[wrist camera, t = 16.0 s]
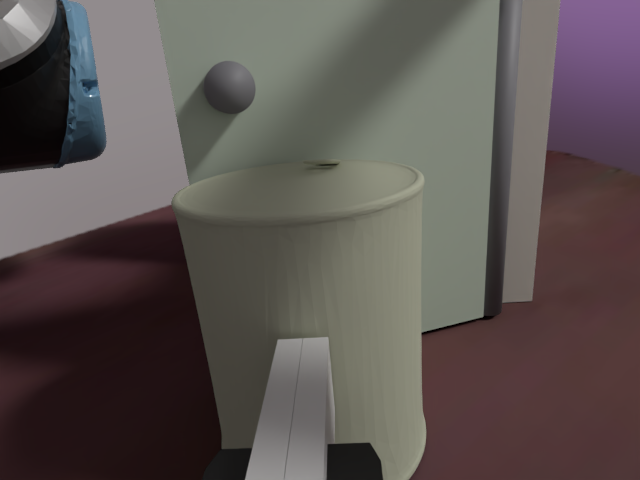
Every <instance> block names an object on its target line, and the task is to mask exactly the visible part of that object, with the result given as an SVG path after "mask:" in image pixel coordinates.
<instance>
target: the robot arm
mask: <svg viewBox="0 0 640 480" xmlns="http://www.w3.org/2000/svg"><path fill="white" fill-rule="evenodd" d="M105 147H106V132H105V125H104V118H103V112H102V105H101V100H100V93H99V88H98V80H97V74H96V66H95V60H94V53H93V47H92V41H91V35H90V29H89V23H88V17H87V12H86V10H85V8H84V7H83V6H82V5H81V4H79V3H77V2H71V1H68V0H0V173H8V172H17V171H26V170H34V169H43V168H52V167H53V168H60V167H63V166H64V165H65V164H70V163H76V162H82V161H87V160H92V159H95V158H97V157H98V156H100V155H101V154H102V152H103V151H104V149H105ZM202 480H383V474H382V465H381V460H380V458H379V457H378V455H377V453H376V452H375V450H374V448H373V447H372V445H371V443H370V442H369V443H341V444H335V406H334V395H333V384H332V373H331V362H330V351H329V340H328V337H318V338H299V339H280V340H278V341H277V345H276V349H275V354H274V358H273V362H272V366H271V371H270V375H269V379H268V384H267V388H266V392H265V396H264V401H263V405H262V409H261V413H260V418H259V422H258V426H257V431H256V435H255V439H254V443H253V448H238V449H221V450H220V451H219V452H218V453H217V455H216V456H215V457H214V458H213V460H212V461H211V462H210V463H209V465H208V466H207V467H206V469H205V472H204V475H203V478H202Z"/></svg>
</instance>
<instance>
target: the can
mask: <svg viewBox="0 0 640 480" xmlns="http://www.w3.org/2000/svg"><path fill="white" fill-rule="evenodd" d="M424 183H425V181H424V176H423V174H422V173H421V172H420V171H419V170H417V169H415V168H413V167H410V166H407V165H404V164H399V163H394V162H387V161H378V160H360V159H318V160H304V161H301V162H291V163H282V164H274V165H267V166H260V167H254V168H249V169H244V170H239V171H234V172H229V173H225V174H221V175H217V176H214V177H211V178H207V179H204V180H201V181H199V182H196V183H194V184H191V185H189V186H187V187H185V188H183V189H182V190H180V191H179V192H178V193H176V194H175V196H174V197H173V199H172V209H173V211H174V213H175V216H176V219H177V223H178V227H179V231H180V235H181V239H182V243H183V247H184V252H185V256H186V261H187V265H188V270H189V275H190V279H191V284H192V288H193V293H194V297H195V302H196V307H197V311H198V316H199V321H200V326H201V331H202V336H203V340H204V345H205V350H206V355H207V360H208V365H209V369H210V374H211V379H212V384H213V389H214V395H215V400H216V405H217V410H218V415H219V421H220V427H221V433H222V449H238V448H253V443H254V439H255V435H256V431H257V426H258V422H259V418H260V413H261V409H262V405H263V401H264V396H265V392H266V388H267V384H268V379H269V375H270V371H271V366H272V362H273V358H274V354H275V349H276V345H277V341H278V340H280V339H299V338H318V337H328V340H329V351H330V362H331V373H332V384H333V395H334V406H335V444H341V443H369V442H370V443H371V445H372V447H373V448H374V450H375V452H376V453H377V455H378V457H379V458H380V460H381V465H382V474H383V480H409V479H410V477H411V476H412V475H413V473H414V472H415V470H416V468H417V467H418V465H419V462H420V460H421V458H422V455H423V452H424V448H425V442H426V424H425V419H424V415H423V410H422V372H421V249H422V198H423V187H424Z"/></svg>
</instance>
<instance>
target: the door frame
mask: <svg viewBox="0 0 640 480" xmlns="http://www.w3.org/2000/svg"><path fill="white" fill-rule="evenodd" d="M559 9H560V0H523V4H522V19H521V33H520V48H519V63H518V78H517V92H516V107H515V122H514V136H513V151H512V166H511V181H510V195H509V210H508V225H507V239H506V254H505V269H504V284H503V298H502V303H507V302H525V301H532V295H533V284H534V274H535V263H536V253H537V242H538V231H539V221H540V210H541V200H542V189H543V179H544V168H545V157H546V147H547V135H548V126H549V115H550V105H551V94H552V83H553V73H554V61H555V52H556V40H557V30H558V20H559Z"/></svg>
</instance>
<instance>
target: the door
mask: <svg viewBox="0 0 640 480" xmlns="http://www.w3.org/2000/svg"><path fill="white" fill-rule="evenodd" d="M154 2H155V7H156V12H157V18H158V23H159V28H160V34H161V39H162V44H163V49H164V54H165V59H166V64H167V70H168V75H169V80H170V85H171V91H172V96H173V101H174V106H175V112H176V117H177V122H178V127H179V132H180V137H181V143H182V148H183V153H184V158H185V164H186V169H187V174H188V179H189V184H190V185H191V184H194V183H196V182H199V181H201V180H204V179H207V178H211V177H214V176H217V175H221V174H225V173H229V172H234V171H239V170H244V169H249V168H254V167H260V166H267V165H274V164H282V163H291V162H301V161H304V160H318V159H360V160H378V161H387V162H394V163H399V164H404V165H407V166H410V167H413V168H415V169H417V170H419V171H420V172H421V173H422V174H423V176H424V181H425V183H424V187H423V198H422V249H421V332H425V331H429V330H433V329H437V328H441V327H445V326H449V325H453V324H457V323H461V322H465V321H469V320H473V319H477V318H481V317H483V315H484V316H495V315H498V314H500V313H501V311H502V298H503V284H504V269H505V254H506V239H507V225H508V210H509V195H510V181H511V166H512V151H513V136H514V122H515V107H516V92H517V78H518V63H519V48H520V33H521V19H522V4H523V0H154Z"/></svg>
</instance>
